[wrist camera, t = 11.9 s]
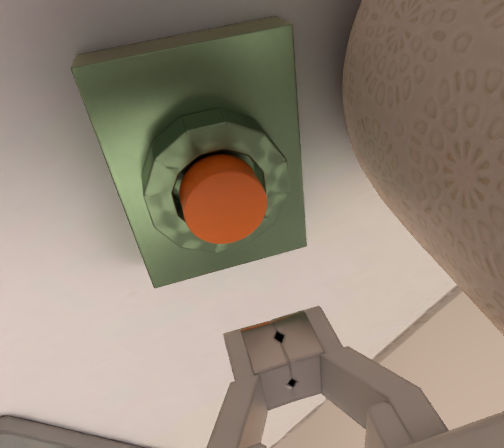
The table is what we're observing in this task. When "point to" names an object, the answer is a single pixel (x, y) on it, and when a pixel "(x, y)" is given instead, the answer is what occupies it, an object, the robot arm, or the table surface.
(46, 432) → the phone
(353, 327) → the table surface
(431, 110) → the planter
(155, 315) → the table surface
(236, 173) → the switch
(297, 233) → the push button box
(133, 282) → the table surface
